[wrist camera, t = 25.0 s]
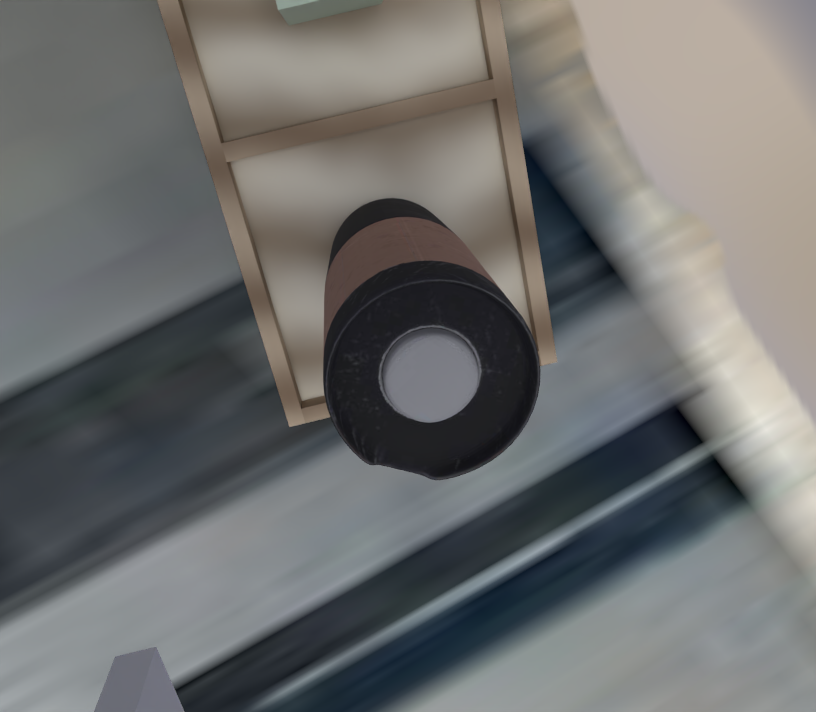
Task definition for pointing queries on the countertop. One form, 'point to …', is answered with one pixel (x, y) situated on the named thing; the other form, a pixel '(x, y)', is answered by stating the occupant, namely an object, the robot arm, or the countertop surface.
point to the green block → (318, 8)
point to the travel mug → (421, 346)
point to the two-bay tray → (355, 151)
